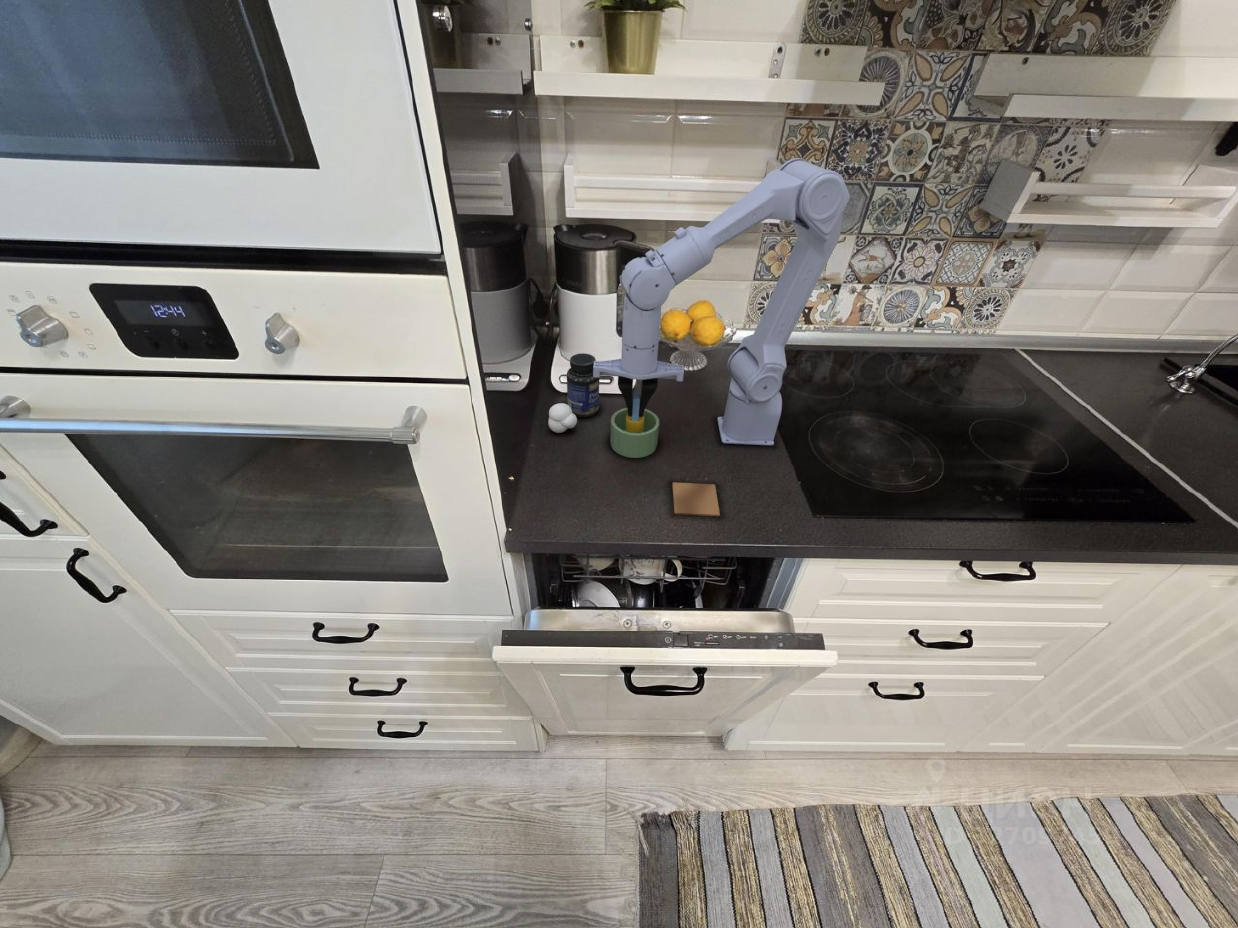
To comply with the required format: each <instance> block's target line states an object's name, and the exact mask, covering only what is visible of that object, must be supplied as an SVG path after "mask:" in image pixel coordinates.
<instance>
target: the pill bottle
mask: <svg viewBox="0 0 1238 928" xmlns="http://www.w3.org/2000/svg"><path fill="white" fill-rule="evenodd" d="M594 361H597V360H596V357H595V355H592V354H590V353H576V354H574V355H572V356H570V358H569V366H570V368H568V370H567V372H566V393H567V397H566V398H567V405H568V406H570V408H571V409H572V413H573V414H574V415H575V416H576V418H583V419H584V418H590V417H593V416H595V415H596V414H598V412H599V410H600V377H593V366H594Z"/></svg>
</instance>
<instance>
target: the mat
mask: <svg viewBox="0 0 1238 928" xmlns="http://www.w3.org/2000/svg"><path fill="white" fill-rule="evenodd" d="M671 485H672V499H673V500H672V501H673V514H674V515H681V516H698V517H699V516H702V517H720V516H721V514H720V507H719V500H718V494H717V489H716V484H713V483H696V482H695V483H693V482H672V483H671Z"/></svg>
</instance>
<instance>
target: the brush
mask: <svg viewBox="0 0 1238 928" xmlns="http://www.w3.org/2000/svg"><path fill="white" fill-rule="evenodd" d="M640 397H641V391H640V392H639V391H633V392H632V402H633V404H632V416H628V415H627V416H626V428H625V429H626V431H627V432H630V433H642V432H643V430H644V416H643V417H639V409H640Z"/></svg>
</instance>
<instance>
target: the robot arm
mask: <svg viewBox="0 0 1238 928" xmlns="http://www.w3.org/2000/svg"><path fill="white" fill-rule="evenodd" d="M850 199H851V195H850V193H849V189H848V188H847V185H846V182H845V180H844V178H843V177H842V175H841V174H840V173H839V172H837V171H835V170H830V169H826V168H824V167H821V166H818V165H816V164H814V163H811V162H809V161H808V160H806V159H805V158H800V157H795V158H792V159H789V160H787V161H786V162H784V163H782V165H781V166H780V167H779V168H776V169H773V170H772V171H770V172H768V173H767V174H766V176H765V177H764V178H763V179H762V180H761V182H760V183H759V184H757V185H756V186H754V188H753V189H751V190H749V192H747V193H746V194H744V195H743V196H742V197H741V198H739V199H738V200H737V201H736V202H734V203H733V204H732V205H730V206H729V207H728V208H726V209H725V210H724V211H722V212H720V214H719V215H718V216H716V217H714V218H713V219H712V220H711V221H709V222H708V223H706V224H705V225H704V226H703V227H701V226H700V227H698V226H693V225H689V226H687V228H683V226H681V227H679V228H678V229H676V230H675V231H674V233H673V234H674V235H675V236H673V237H672V238H671V239H669V240H668V241H666V242H664V243H662V244H661V245H660V246H659V247H657V248H656V249H654V250H652V249H650V250H648V251H647V252H645V256H641V257H636V258H633V259H632V260H630V261H628V262H627V264H626V265H625V266H624V269H623V270H622V272H621V274H620V275H619V283H620V285H621V287H622V290H623V291H624V292H625V293H624V301H623V311H622V312H623V313H622V328H621V329H622V332H621V333H622V334H621V357H620V358H617V359H608V360H596V361H594V366H593V377H599V378H600V377H603V376H605V377H617V387H618V390H619V392H620V393H621V396H622V397H623V400H624V402H625V405H626V408H627V410H628V416H632V404H633V392H634V391H633V390H634V380H636V381H637V380H638V381H641V391H640V409H639V417H643V413H644V410H645V409H646V407H647V405H648V403H649V402H650V400H651V398H652V397H653V395H654V394H655V393H656V391H657V390H658V385H659V379H664V380H675V382H684V375H685V370H684V365H683V364H675V363H669V362H665V361H661V360H658V356H659V355H658V354H659V345H660V344H659V342H660V332H661V321H662V306H663V305H664V304H665V303H666V302H667V300H668V298H669V296H670V293H671V291H672V290H674V289H675V287H676V286H678V285H680V284H681V283H683V282H684V281H685V280H687V279H689V278H690V277H691V276H694V275H695V274H696V273H697V272H699V271H701V270H702V269H703V268H705V267H706V266H708V265H710V264H711V262H712V260H713V257H714V255H715V251H716V250H717V249H718V248H720V247H722V246H724V245H726V244H727V243H728V242H731V241H732V240H734V239H735V238H737V237H739V236H741V235H742V234H744V233H745V232H747V231H749V230H750V229H753V228H755V227H756V226H758V225H760V224H761V223H763V222H764V221H766V220H778V221H786V222H787V221H788V222H790V223H791V225H792V228H793V230H794V232H795V235H796V241H795V243H794V245H793V248H792V249H791V252H790V254H789V256H788V258H787V261H786V263H785V265H784V267H783V268H782V272H781V273H780V276H779V277H778V280H777V282H776V284H775V287H774V289H773V291H772V293H771V295H770V298H769V299H768V302H767V304H766V307H765V308H764V310H763V313H762V315H761V316H760V319H759V321H758V323H757V326H756V328H755V329H754V332H753V333H752V334H749V335H747V336H745V337H743V338H742V340H741V342H740V343H739V346H738V347H737V348H736V349H735V350H734V351H733V352H731V355H730V356H729V358H728V359H727V363H726V365H727V371H728V373H729V374H730V375H731V378H730V384H729V388H728V393H727V398H726V402H725V403H726V404H725V407H724V413H723V416H718V417H717V419H716V420H717V425H718V430H719V436H720V440H721V443H723V444H727V445H728V444H730V445H732V444H733V445H749V446H751V445H752V446H769V447H770V446H774V445H775V441H774V440H775V436H776V432H777V429H778V426H779V422H780V419H781V415H782V409H783V399H782V394H781V392H780V390H781V389H782V386H783V376H784V373H785V371H786V370H787V358H786V352H785V347H786V345H787V343H788V341H789V339H790V337H791V335H792V333H793V332H794V329H795V327H796V325H797V323H798V321H799V319H800V317H801V315H802V313H803V312H804V309H805V307H806V305H808V301H809V299H810V297H811V295H812V293H813V292H814V290H815V288H816V286H817V284H818V282H819V280H820V278H821V276H822V274H823V273H824V269H825V268H826V266H827V264H828V262H829V261H830V258H831V256H832V254H833V252H834V250H835V249H836V246H837V244H838V242H839V240H840V237H841V231H842V223H843V214H844V211H845V209H846V207H847V205H848V203H849V201H850Z"/></svg>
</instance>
